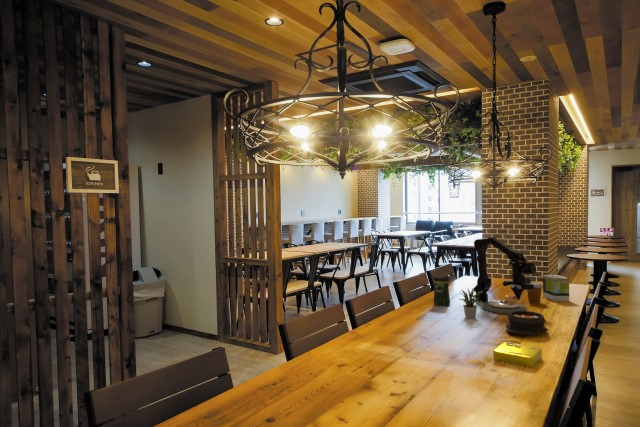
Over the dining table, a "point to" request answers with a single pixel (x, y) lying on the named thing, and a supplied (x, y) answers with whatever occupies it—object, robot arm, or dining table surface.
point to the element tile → (518, 354)
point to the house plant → (470, 304)
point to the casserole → (526, 323)
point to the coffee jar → (441, 290)
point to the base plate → (501, 310)
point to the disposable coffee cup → (535, 293)
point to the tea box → (556, 287)
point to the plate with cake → (505, 303)
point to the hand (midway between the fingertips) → (518, 299)
